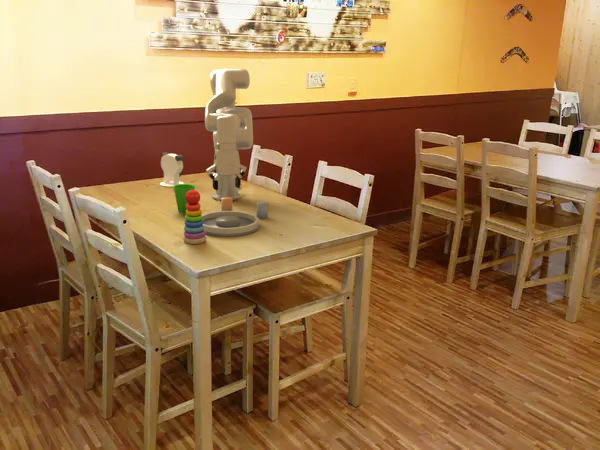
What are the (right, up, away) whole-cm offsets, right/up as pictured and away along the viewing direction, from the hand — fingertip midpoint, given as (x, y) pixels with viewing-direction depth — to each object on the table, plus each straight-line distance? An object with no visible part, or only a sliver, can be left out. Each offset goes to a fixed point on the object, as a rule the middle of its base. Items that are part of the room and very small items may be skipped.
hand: (226, 188), depth 238 cm
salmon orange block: (0, -10, +4) cm, 10 cm away
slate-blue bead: (+15, -12, -2) cm, 19 cm away
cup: (-18, -10, +2) cm, 20 cm away
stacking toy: (-7, -21, -32) cm, 39 cm away
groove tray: (+2, -16, -15) cm, 22 cm away
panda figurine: (-32, +5, +47) cm, 57 cm away
